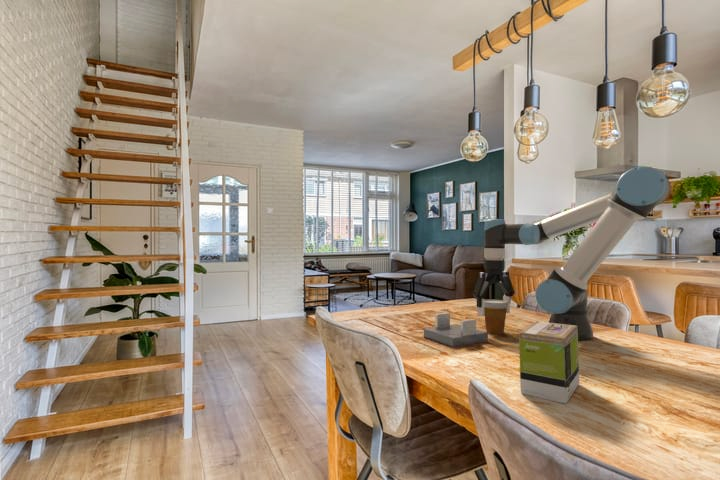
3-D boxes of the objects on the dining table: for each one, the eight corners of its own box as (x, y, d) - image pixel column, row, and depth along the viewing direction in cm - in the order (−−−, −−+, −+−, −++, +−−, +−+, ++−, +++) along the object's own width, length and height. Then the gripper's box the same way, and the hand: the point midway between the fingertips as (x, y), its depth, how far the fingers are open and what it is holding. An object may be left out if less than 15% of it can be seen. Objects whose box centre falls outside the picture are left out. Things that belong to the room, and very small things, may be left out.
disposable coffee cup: (504, 329, 153) (504, 299, 153) (511, 335, 144) (511, 303, 144) (479, 329, 154) (479, 299, 154) (485, 335, 145) (484, 303, 145)
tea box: (537, 376, 102) (536, 319, 102) (580, 384, 95) (579, 324, 95) (518, 394, 90) (518, 330, 90) (566, 405, 84) (566, 337, 84)
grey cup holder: (488, 341, 136) (487, 318, 136) (453, 347, 129) (452, 323, 129) (456, 331, 151) (456, 311, 151) (423, 336, 143) (423, 315, 143)
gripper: (509, 257, 158) (508, 309, 159) (462, 259, 147) (462, 315, 147) (524, 259, 152) (524, 313, 152) (477, 260, 140) (476, 319, 140)
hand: (493, 314), depth 149 cm, fingers open, 13 cm apart
